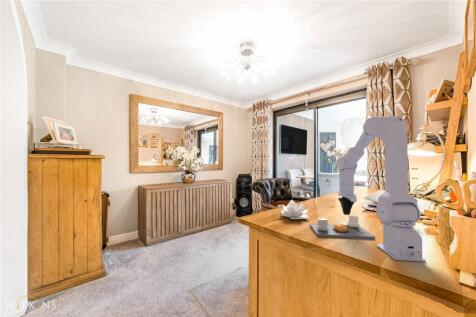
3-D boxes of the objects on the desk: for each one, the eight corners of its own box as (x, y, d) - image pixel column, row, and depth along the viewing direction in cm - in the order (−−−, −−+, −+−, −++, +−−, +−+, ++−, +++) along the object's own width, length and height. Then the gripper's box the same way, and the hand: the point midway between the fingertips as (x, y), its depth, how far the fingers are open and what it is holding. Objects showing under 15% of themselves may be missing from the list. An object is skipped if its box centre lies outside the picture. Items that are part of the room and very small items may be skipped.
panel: (375, 240, 70) (375, 236, 70) (317, 237, 73) (317, 233, 73) (358, 228, 82) (358, 225, 82) (309, 226, 85) (309, 223, 85)
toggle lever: (359, 227, 79) (359, 217, 79) (350, 226, 80) (350, 216, 80) (356, 225, 82) (356, 215, 82) (347, 224, 82) (347, 215, 82)
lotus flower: (310, 215, 101) (310, 199, 101) (308, 224, 87) (308, 205, 87) (282, 212, 107) (282, 196, 107) (276, 220, 93) (276, 202, 93)
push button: (348, 232, 74) (348, 227, 74) (336, 231, 75) (336, 227, 75) (344, 228, 78) (344, 224, 78) (332, 227, 79) (332, 223, 79)
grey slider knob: (328, 230, 75) (328, 220, 75) (318, 230, 75) (318, 220, 75) (326, 228, 77) (326, 218, 77) (317, 228, 78) (317, 218, 78)
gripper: (364, 186, 79) (364, 219, 79) (348, 182, 94) (348, 210, 94) (346, 186, 80) (346, 219, 80) (333, 182, 95) (333, 210, 95)
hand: (346, 214), depth 87 cm, fingers closed
